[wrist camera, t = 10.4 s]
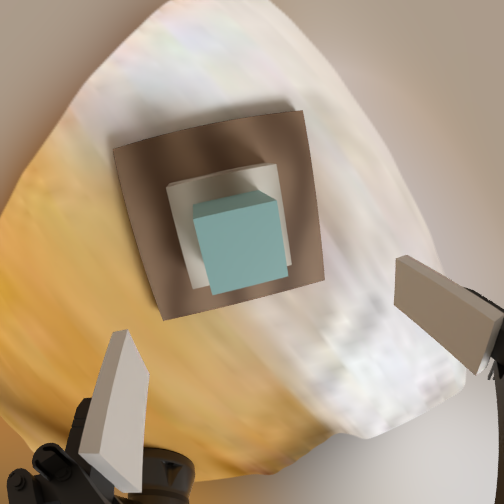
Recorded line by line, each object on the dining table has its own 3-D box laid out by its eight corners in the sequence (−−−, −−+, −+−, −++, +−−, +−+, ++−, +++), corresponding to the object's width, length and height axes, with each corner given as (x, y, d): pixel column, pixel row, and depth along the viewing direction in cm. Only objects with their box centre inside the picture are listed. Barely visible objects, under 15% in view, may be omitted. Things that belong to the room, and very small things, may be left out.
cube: (207, 266, 28) (212, 295, 22) (192, 204, 26) (193, 219, 20) (269, 251, 28) (288, 276, 23) (258, 189, 26) (276, 200, 21)
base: (164, 314, 34) (160, 340, 29) (116, 149, 27) (101, 148, 22) (320, 275, 37) (339, 294, 32) (297, 112, 30) (317, 105, 25)
